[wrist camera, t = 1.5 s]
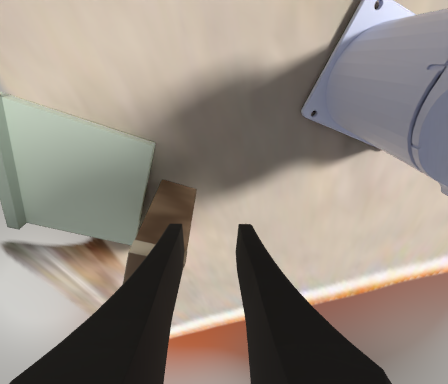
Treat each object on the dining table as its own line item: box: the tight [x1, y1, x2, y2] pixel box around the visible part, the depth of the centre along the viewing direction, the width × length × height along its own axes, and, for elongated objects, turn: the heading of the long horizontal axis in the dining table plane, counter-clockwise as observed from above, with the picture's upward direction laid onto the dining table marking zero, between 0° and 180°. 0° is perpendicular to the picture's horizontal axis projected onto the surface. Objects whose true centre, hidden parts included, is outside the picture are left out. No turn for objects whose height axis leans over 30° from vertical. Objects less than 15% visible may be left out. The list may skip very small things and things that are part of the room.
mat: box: [0, 92, 156, 246], centre depth 19 cm, size 12×13×2 cm
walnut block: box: [123, 179, 197, 284], centre depth 18 cm, size 4×6×9 cm, turn 159°
